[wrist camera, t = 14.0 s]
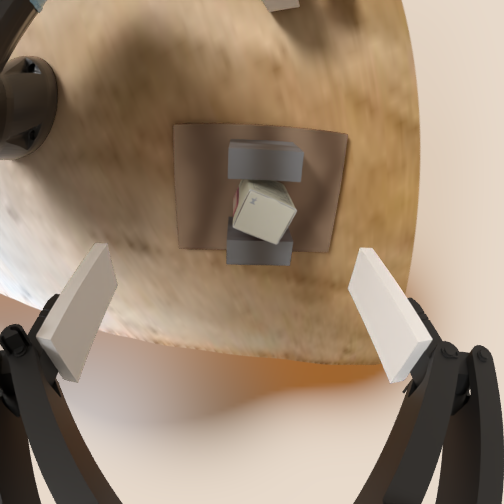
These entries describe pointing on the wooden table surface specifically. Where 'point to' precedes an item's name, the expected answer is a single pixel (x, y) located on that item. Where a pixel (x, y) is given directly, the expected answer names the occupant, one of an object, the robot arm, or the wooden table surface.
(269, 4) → the wall hook
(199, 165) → the slotted post block
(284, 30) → the wooden table surface
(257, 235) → the small box
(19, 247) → the wooden table surface
